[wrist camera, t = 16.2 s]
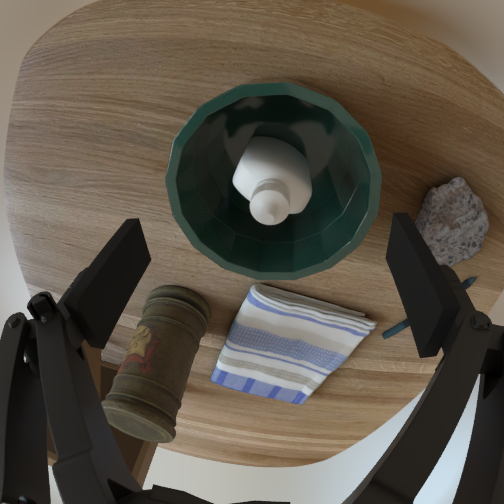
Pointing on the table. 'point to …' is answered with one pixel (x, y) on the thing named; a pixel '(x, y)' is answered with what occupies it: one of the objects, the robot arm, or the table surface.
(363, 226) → the pot
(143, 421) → the container
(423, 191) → the table surface
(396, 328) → the pen
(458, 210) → the rock
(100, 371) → the photo frame
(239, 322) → the dish towel
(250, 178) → the eye dropper bottle
